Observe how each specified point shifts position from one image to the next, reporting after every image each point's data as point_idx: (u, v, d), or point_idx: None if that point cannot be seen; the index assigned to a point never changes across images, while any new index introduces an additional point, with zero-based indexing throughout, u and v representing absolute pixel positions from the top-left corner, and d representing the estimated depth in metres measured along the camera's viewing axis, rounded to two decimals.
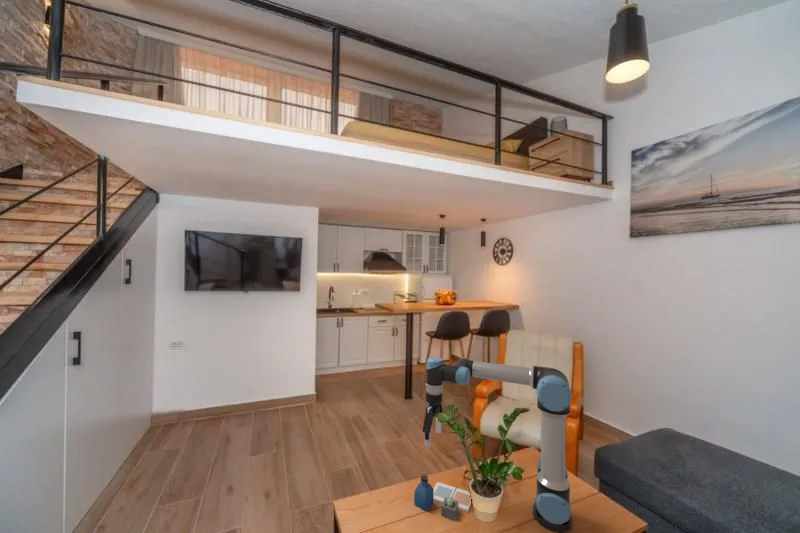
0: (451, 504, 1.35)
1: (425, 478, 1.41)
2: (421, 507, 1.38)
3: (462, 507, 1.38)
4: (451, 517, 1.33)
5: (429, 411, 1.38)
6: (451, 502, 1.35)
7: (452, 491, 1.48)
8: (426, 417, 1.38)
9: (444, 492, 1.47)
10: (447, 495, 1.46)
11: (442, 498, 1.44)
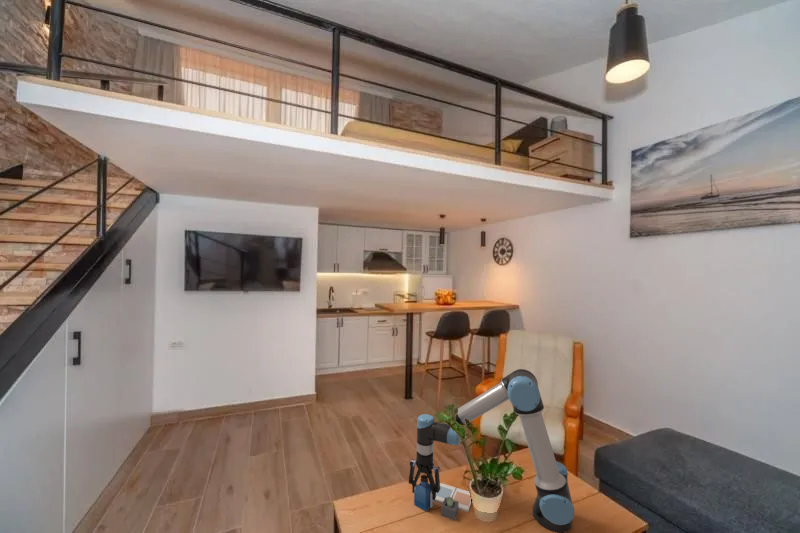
0: (451, 504, 1.35)
1: (425, 478, 1.41)
2: (421, 507, 1.38)
3: (462, 507, 1.38)
4: (451, 517, 1.33)
5: None
6: (451, 502, 1.35)
7: (452, 491, 1.48)
8: None
9: (444, 492, 1.47)
10: (447, 495, 1.46)
11: (442, 498, 1.44)
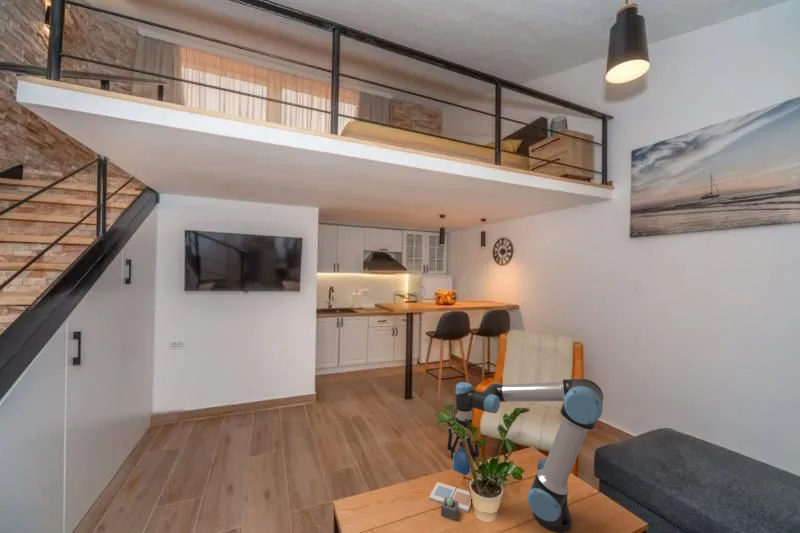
0: (451, 504, 1.35)
1: None
2: (461, 471, 1.41)
3: (462, 507, 1.38)
4: (451, 517, 1.33)
5: None
6: (451, 502, 1.35)
7: (452, 491, 1.48)
8: None
9: (444, 492, 1.47)
10: (447, 495, 1.46)
11: (442, 498, 1.44)
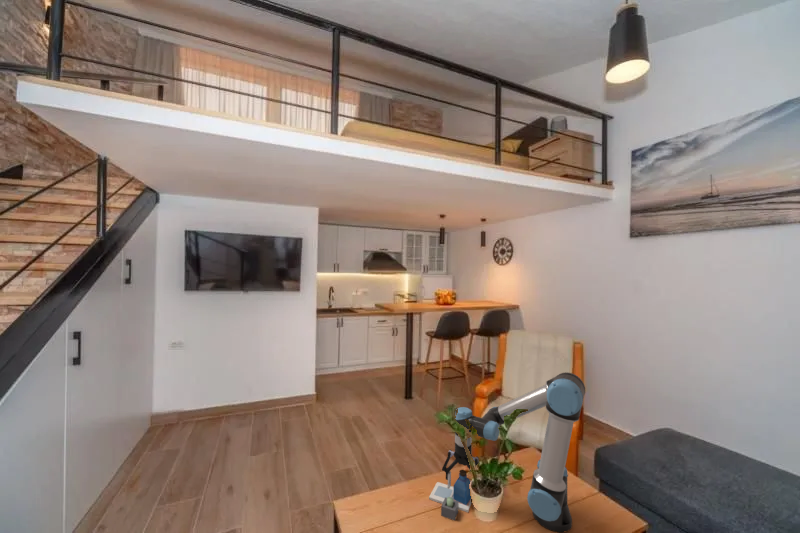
0: (451, 504, 1.35)
1: (464, 472, 1.43)
2: (461, 501, 1.41)
3: (462, 507, 1.38)
4: (451, 517, 1.33)
5: None
6: (451, 502, 1.35)
7: (452, 491, 1.48)
8: None
9: (444, 492, 1.47)
10: (447, 495, 1.46)
11: (442, 498, 1.44)
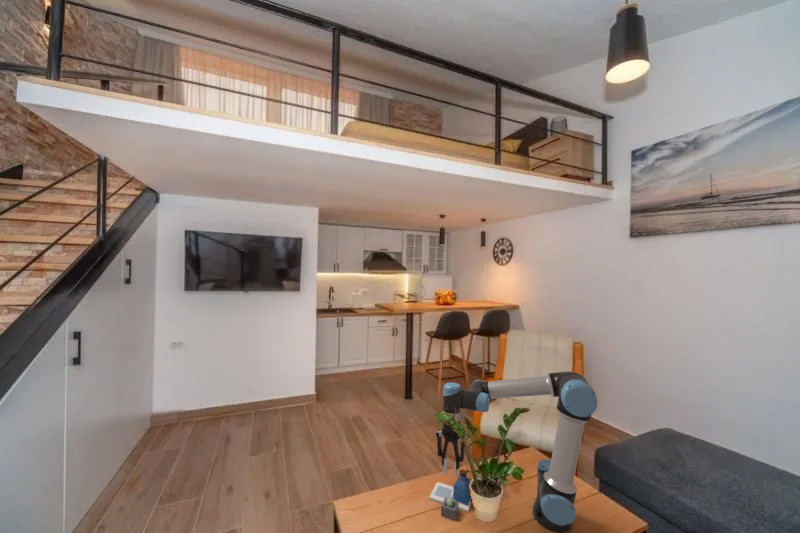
0: (451, 504, 1.35)
1: (464, 472, 1.43)
2: (461, 501, 1.41)
3: (462, 507, 1.38)
4: (451, 517, 1.33)
5: None
6: (451, 502, 1.35)
7: (452, 491, 1.48)
8: None
9: (444, 492, 1.47)
10: (447, 495, 1.46)
11: (442, 498, 1.44)
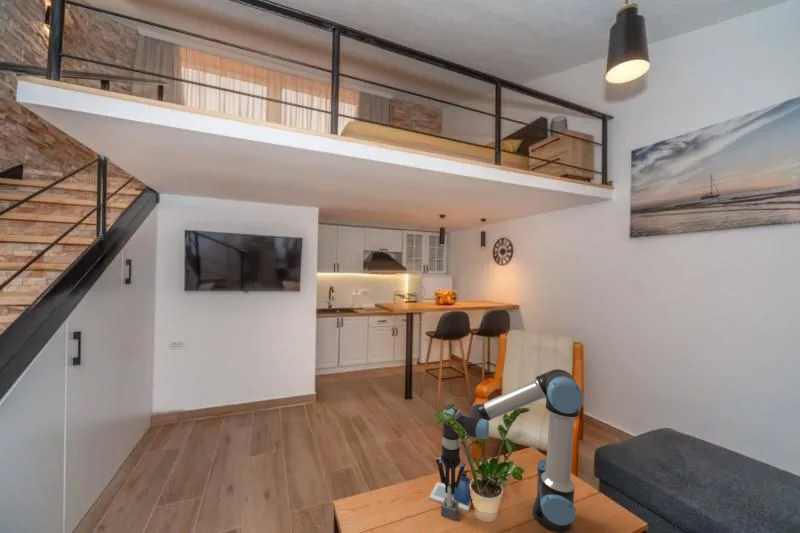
0: (451, 506, 1.35)
1: (464, 472, 1.43)
2: (461, 501, 1.41)
3: (462, 507, 1.38)
4: (451, 517, 1.33)
5: None
6: (451, 504, 1.35)
7: None
8: None
9: (444, 492, 1.47)
10: None
11: (442, 498, 1.44)
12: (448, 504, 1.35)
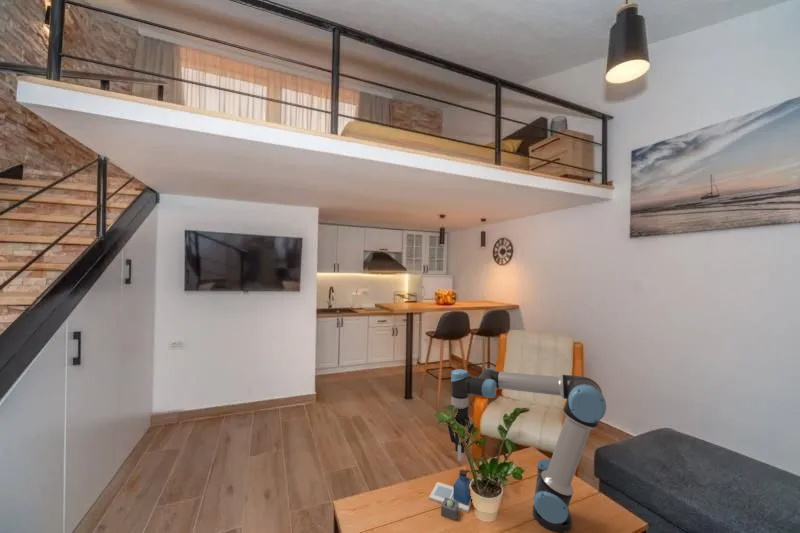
0: (451, 507, 1.35)
1: (464, 472, 1.43)
2: (461, 501, 1.41)
3: (462, 507, 1.38)
4: (451, 517, 1.33)
5: None
6: (451, 505, 1.35)
7: (452, 491, 1.48)
8: None
9: (444, 492, 1.47)
10: (447, 495, 1.46)
11: (442, 498, 1.44)
12: (448, 505, 1.35)
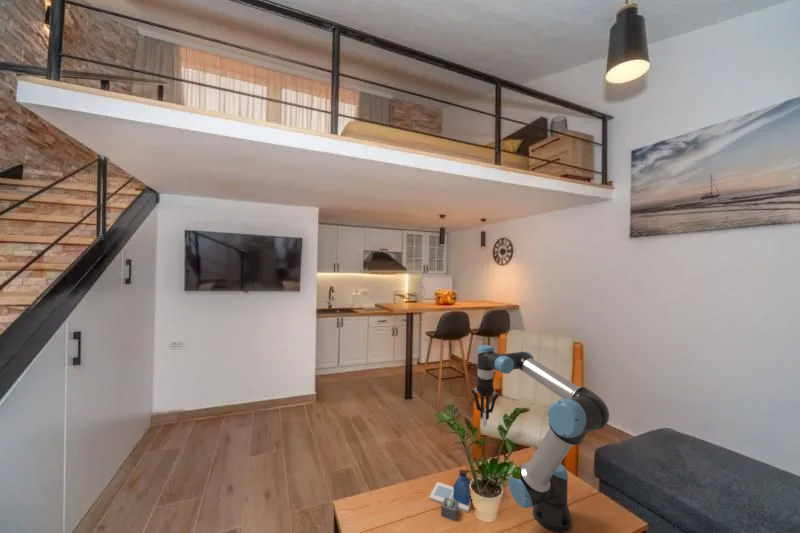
0: (451, 507, 1.35)
1: (464, 472, 1.43)
2: (461, 501, 1.41)
3: (462, 507, 1.38)
4: (451, 517, 1.33)
5: None
6: (451, 505, 1.35)
7: (452, 491, 1.48)
8: None
9: (444, 492, 1.47)
10: (447, 495, 1.46)
11: (442, 498, 1.44)
12: (448, 505, 1.35)
